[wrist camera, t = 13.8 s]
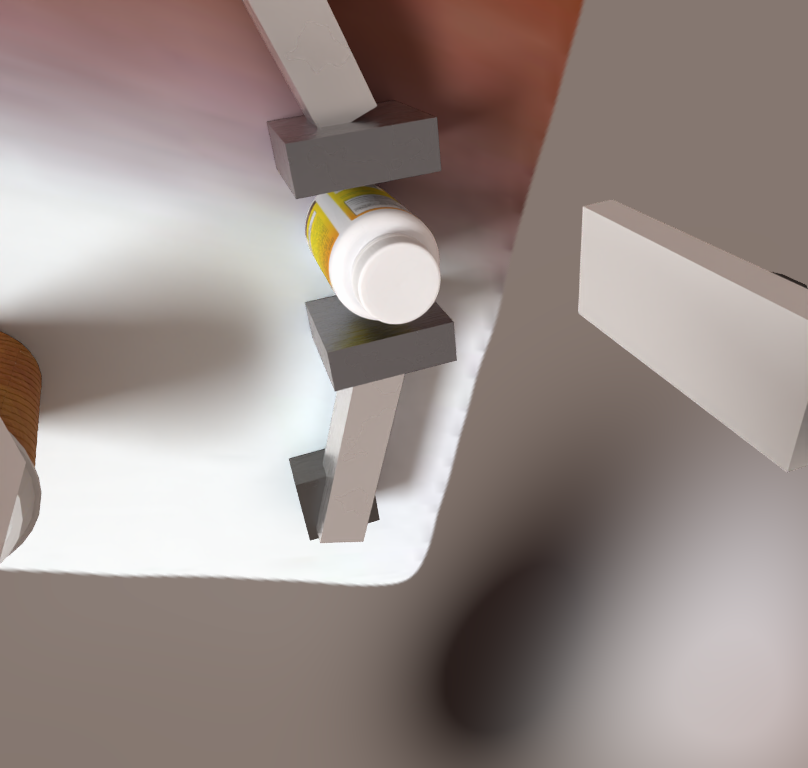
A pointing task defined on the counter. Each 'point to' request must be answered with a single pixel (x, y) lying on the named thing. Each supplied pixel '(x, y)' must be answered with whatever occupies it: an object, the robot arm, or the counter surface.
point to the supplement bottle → (374, 253)
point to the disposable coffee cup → (21, 432)
